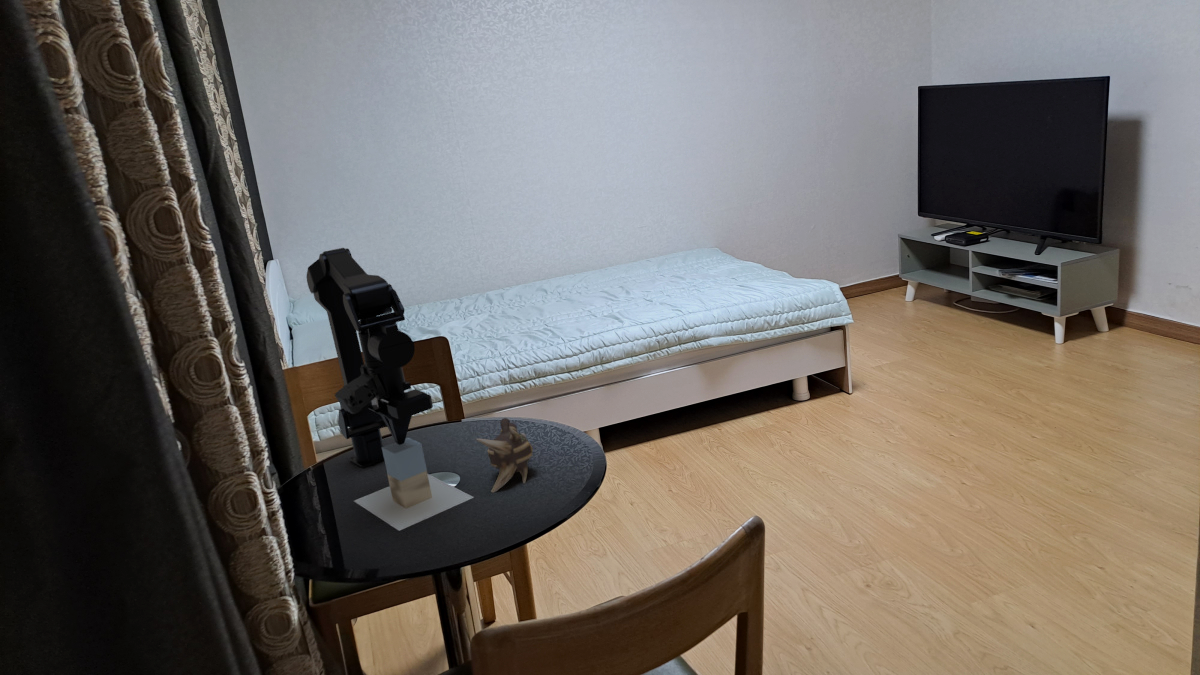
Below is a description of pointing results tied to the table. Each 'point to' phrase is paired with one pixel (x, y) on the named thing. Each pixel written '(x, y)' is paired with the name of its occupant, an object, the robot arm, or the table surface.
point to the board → (405, 517)
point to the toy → (508, 453)
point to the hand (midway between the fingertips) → (400, 443)
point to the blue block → (404, 459)
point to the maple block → (410, 489)
